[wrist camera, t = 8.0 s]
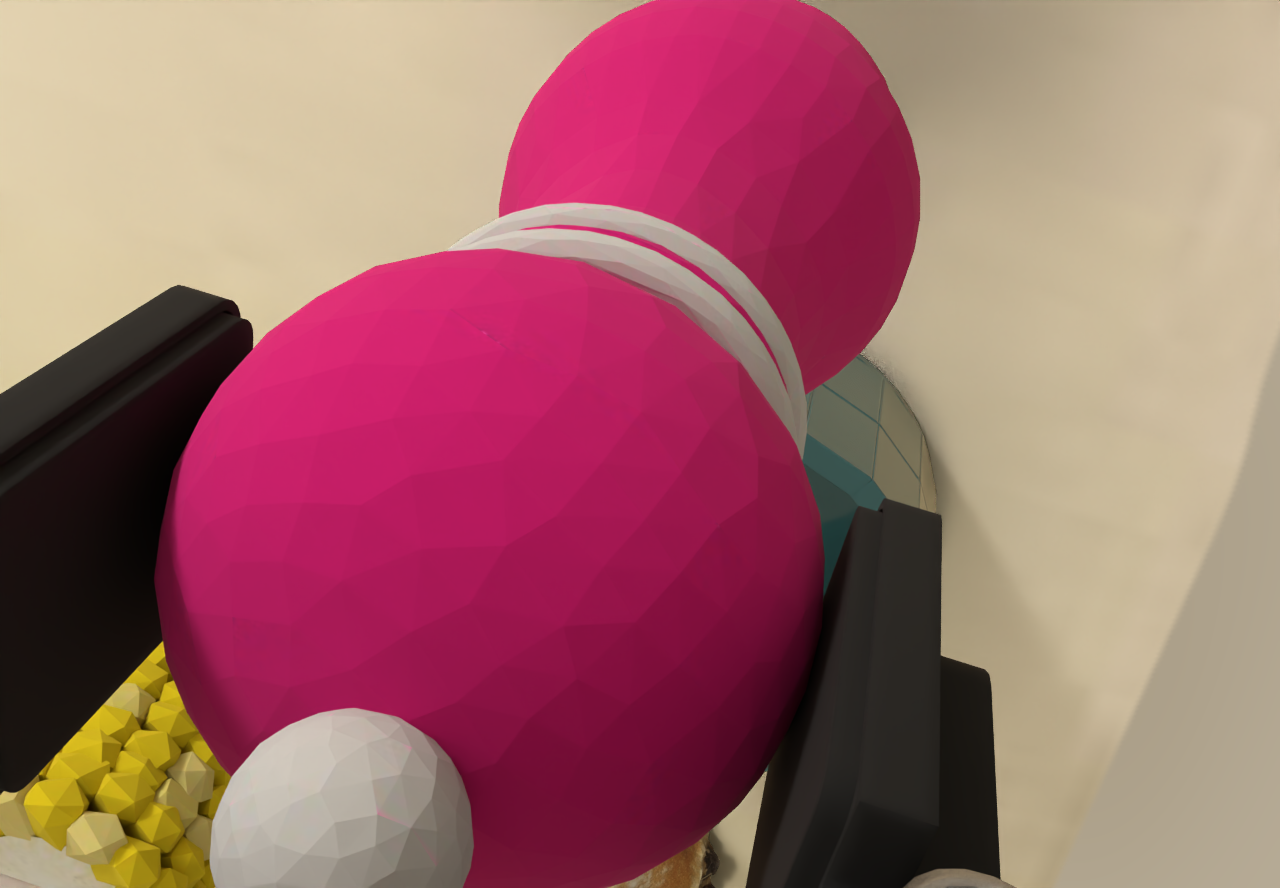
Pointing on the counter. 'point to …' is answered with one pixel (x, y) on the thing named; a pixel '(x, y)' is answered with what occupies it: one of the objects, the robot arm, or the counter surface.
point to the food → (120, 797)
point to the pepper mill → (547, 480)
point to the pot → (862, 452)
